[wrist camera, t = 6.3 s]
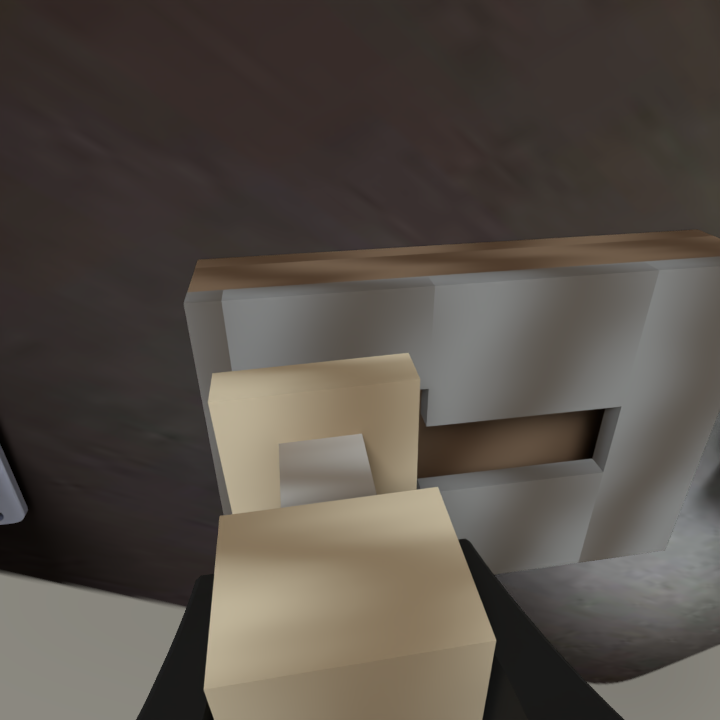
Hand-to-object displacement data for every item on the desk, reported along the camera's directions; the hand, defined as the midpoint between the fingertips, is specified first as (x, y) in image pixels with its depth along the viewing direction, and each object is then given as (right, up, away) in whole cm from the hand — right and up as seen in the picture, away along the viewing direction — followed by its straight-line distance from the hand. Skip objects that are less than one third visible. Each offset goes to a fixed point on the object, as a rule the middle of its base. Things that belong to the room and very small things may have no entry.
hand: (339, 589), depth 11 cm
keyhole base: (+4, +3, +11) cm, 12 cm away
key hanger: (-1, +3, +4) cm, 4 cm away
